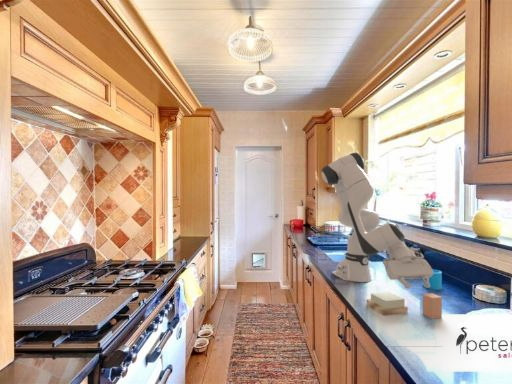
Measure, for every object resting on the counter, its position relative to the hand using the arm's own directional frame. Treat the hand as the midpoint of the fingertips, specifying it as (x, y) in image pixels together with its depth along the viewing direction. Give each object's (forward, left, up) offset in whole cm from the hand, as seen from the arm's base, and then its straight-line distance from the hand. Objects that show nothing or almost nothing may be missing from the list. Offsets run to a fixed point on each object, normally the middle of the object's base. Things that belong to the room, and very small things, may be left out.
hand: (418, 287), depth 121 cm
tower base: (-7, -10, -10) cm, 16 cm away
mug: (-19, +33, -10) cm, 39 cm away
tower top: (-6, -10, -7) cm, 14 cm away
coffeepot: (-40, +45, -10) cm, 61 cm away
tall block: (+5, +1, -10) cm, 11 cm away
